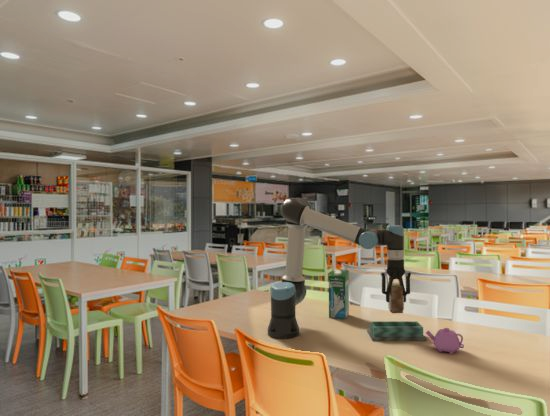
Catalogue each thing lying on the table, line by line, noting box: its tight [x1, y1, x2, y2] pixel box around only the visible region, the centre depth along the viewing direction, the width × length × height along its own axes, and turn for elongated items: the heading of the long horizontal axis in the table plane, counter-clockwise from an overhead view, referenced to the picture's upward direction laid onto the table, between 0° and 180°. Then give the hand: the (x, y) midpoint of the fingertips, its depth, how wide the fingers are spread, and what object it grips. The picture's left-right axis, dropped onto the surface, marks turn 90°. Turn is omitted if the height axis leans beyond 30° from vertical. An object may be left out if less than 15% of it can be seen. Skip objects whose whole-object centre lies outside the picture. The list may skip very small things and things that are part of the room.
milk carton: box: [328, 268, 350, 320], centre depth 223 cm, size 9×9×25 cm
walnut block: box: [388, 284, 404, 314], centre depth 188 cm, size 5×5×12 cm
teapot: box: [425, 327, 465, 355], centre depth 171 cm, size 10×15×9 cm
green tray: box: [366, 320, 428, 342], centre depth 189 cm, size 24×12×6 cm, turn 88°
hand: (396, 309), depth 188 cm, fingers closed on walnut block, 5 cm apart
